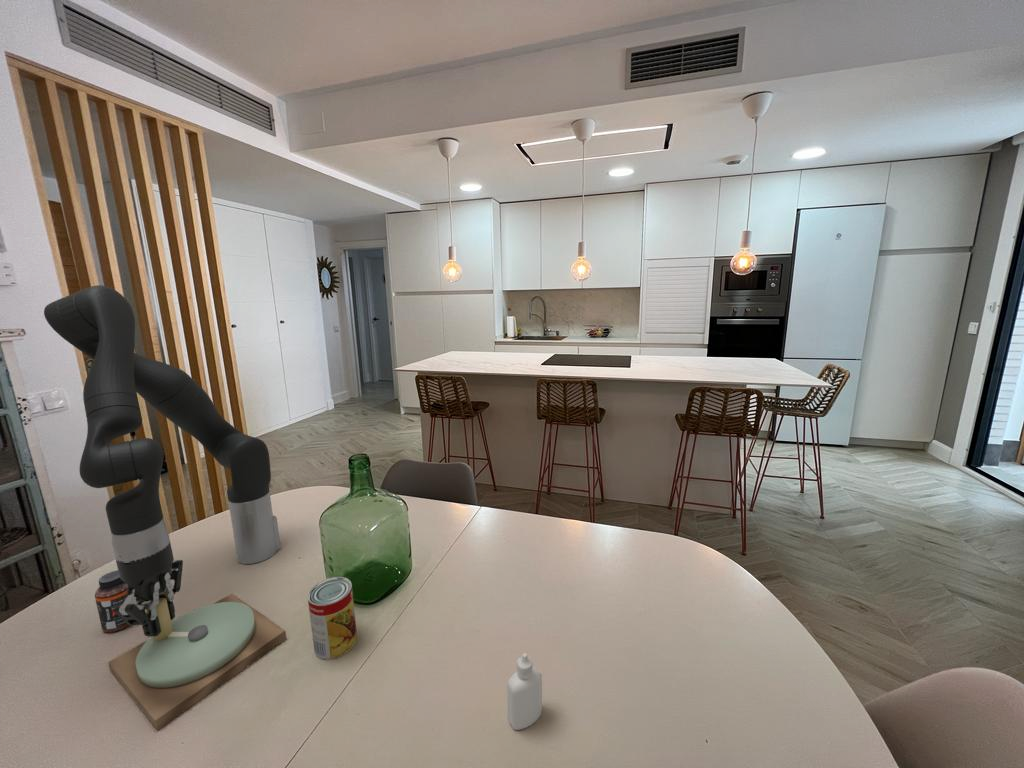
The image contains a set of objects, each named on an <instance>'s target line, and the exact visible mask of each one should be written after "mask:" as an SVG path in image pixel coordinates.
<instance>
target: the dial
mask: <svg viewBox="0 0 1024 768" xmlns="http://www.w3.org/2000/svg"><path fill="white" fill-rule="evenodd" d="M156 610H157V616H158V619H159V624H160V628H161V633H160V634H159V635H158V636H153V637H148V639H147V640H146V643H145V644H144V645H143V646H142V648H141V649H140V651H139V653H138V655H137V658H136V669H137V673H138V677H139V679H140V681H141V682H142V683H143V684H145V685H147V686H150V687H155V688H168V687H175V686H179V685H183V684H186V683H189V682H192V681H195V680H197V679H200V678H202V677H204V676H206V675H208V674H210V673H212V672H214V671H216V670H217V669H219V668H220V667H222V666H224V665H225V664H226V663H228V662H229V661H230V660H232V659H233V658H234V657H235V656H236V655H237V654H239V653H240V652H241V651H242V650H243V648H244V647H245V646H246V645H247V644H248V642H249V641H250V639H251V637H252V636H253V633H254V630H255V620H254V614H253V611H252V610H251V608H250V607H249V606H247V605H245V604H242V603H238V602H222V603H216V604H214V603H212V604H208V605H204V606H202V607H198V608H196V609H192V610H190V611H188V612H186V613H184V614H182V615H180V616H178V617H176V618H174V619H173V620H171V619H170V614H169V609H168V604H167V599H166V598H159V604H158V605H157V606H156ZM145 612H146V613H149V610H148V609H145Z"/></svg>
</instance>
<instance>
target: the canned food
mask: <svg viewBox="0 0 1024 768" xmlns="http://www.w3.org/2000/svg"><path fill="white" fill-rule="evenodd" d="M353 592H354V591H353V583H352V581H351V580H350V579H349V578H347V577H344V576H333V577H328V578H326V579H325V578H324V579H323V580H321V581H319V582H318V583H316V584H315V585H313V586H312V587H311V588H310V589H309V591H308V593H307V601H308V602H307V604H308V611H309V619H310V620H309V621H310V627H311V636H312V641H313V642H312V643H313V644H312V645H313V649H314V654H315V655H316V656H315V657H317V658H319V659H321V660H325V661H327V660H330V661H332V660H334V659H337V658H340V656H341V657H342V656H344V655H346V654H347V653H349V652H350V651H351V650H352V649H353V647H354V646H355V645H356V642H357V640H358V632H357V623H356V614H355V613H356V612H355V602H354V593H353Z"/></svg>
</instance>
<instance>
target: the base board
mask: <svg viewBox="0 0 1024 768" xmlns="http://www.w3.org/2000/svg"><path fill="white" fill-rule="evenodd" d="M222 602H238V603H242V604H245V605H247V606H249V607H250V608H251V610H252V611H253V614H254V620H255V630H254V633H253V636H252V637H251V639H250V641H249V642H248V644H247V645H246V646H245V647H244V648H243V650H242V651H241V652H240V653H239V654H237V655H236V656H235V657H234V658H233V659H232V660H230V661H229V662H228V663H226V664H225V665H224V666H222V667H220V668H219V669H217V670H216V671H214V672H212V673H210V674H208V675H206V676H204V677H202V678H200V679H197V680H195V681H192V682H189V683H186V684H183V685H179V686H175V687H168V688H155V687H150V686H147V685H145V684H143V683H142V682H141V681H140V679H139V677H138V673H137V669H136V658H137V655H138V653H139V651H140V649H141V648H142V646H143V645H144V644H145V643H146V641H147V640H146V641H144V642H141V643H139V644H138V645H136V646H134V647H132V648H131V649H128V650H127V651H125V652H123V653H122V654H120V655H118V656H116V657H114V658H112V659H111V660H109V661H107V664H108V667H109V671H110V673H111V674H112V675H113V677H114V678H115V679H116V681H118V683H119V684H120V685H121V687H122V688H123V689H124V691H125V693H127V694H128V695H129V697H130V698H131V700H133V702H134V703H135V705H136V707H138V708H139V710H140V711H141V712H142V713H143V714H144V716H145V718H147V719H148V721H149V722H150V723H151V724H152V726H153V727H154V728H155V730H156V731H157V732H158V731H160V730H161V729H162V728H163V727H165V726H166V725H168V724H169V723H171V722H172V721H173V720H175V719H176V718H178V717H179V716H180V715H181V714H183V713H185V712H186V711H187V710H189V709H190V708H192V707H193V706H194V705H196V704H197V703H198V702H200V701H201V700H202V699H204V698H206V697H207V696H208V695H210V694H211V693H212V692H214V691H216V690H217V689H218V688H220V687H221V686H222V685H224V684H225V683H226V682H228V681H230V680H231V679H232V678H234V677H235V676H237V675H238V674H240V673H241V672H242V671H243V670H245V669H246V668H247V667H250V666H251V665H252V664H253V663H255V662H257V660H260V659H261V658H262V657H264V655H266V654H268V653H269V652H270V651H272V650H273V649H275V648H276V647H277V646H279V645H280V644H281V643H283V642H284V641H285V640H287V634H286V633H287V632H286V629H284V628H283V627H281V626H280V625H278V624H277V623H276V622H274V621H272V620H271V619H269V617H267V616H266V615H264V614H263V613H261V612H260V611H258V610H257V609H255V608H254V607H252V606H251V605H249V604H248V603H247V602H245V601H244V600H242V599H241V598H240V597H239V596H237V595H235V594H234V593H230V594H227V595H226V596H224V597H222V598H220V599H218V600H217V601H216V602H214V603H213V604H216V603H222Z"/></svg>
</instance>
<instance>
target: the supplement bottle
mask: <svg viewBox="0 0 1024 768" xmlns="http://www.w3.org/2000/svg"><path fill="white" fill-rule="evenodd" d="M98 586H99V587H98V588H97V589H96V590H95V593H94V598H95V605H96V607H97V613H98V618H99V622H100V626H101V629H102V631H103V632H105V633H114V632H118V631H122V630H124V629H126V628H127V627H130V626H129V625H128V624H127V623H126V622H125V621H124V620H123V619H122V618H120V617H119V616H118V615H117V614H116V613H115V612H114V610H115V607H116V606H117V605H122V604H123V603H124V601H125V600H126V599H127V597H128V596H127V588H128V586H127V584H126V583H125V582H124V581H123V580H121V578H120V576H119V572H118V569H117V570H114V571H110V572H108V573H107V572H106V573H105V574H103V575H102V576H101V577H99V578H98Z"/></svg>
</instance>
